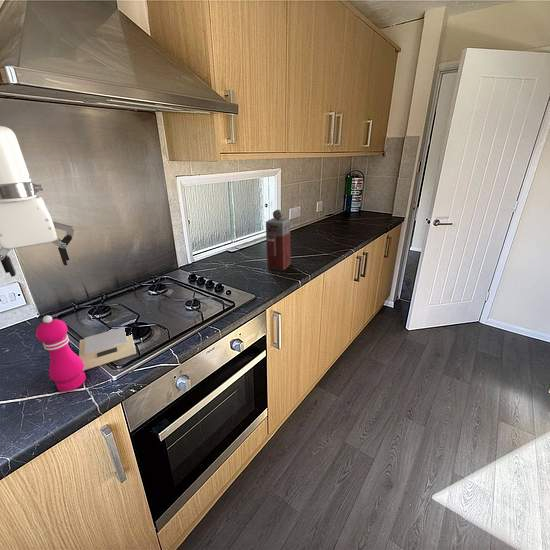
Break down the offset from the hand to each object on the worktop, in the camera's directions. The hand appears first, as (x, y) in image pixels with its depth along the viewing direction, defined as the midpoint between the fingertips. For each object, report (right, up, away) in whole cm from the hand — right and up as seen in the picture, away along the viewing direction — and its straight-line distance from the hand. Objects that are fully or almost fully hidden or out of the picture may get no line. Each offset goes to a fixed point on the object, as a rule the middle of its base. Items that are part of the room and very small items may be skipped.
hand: (40, 269), depth 67 cm
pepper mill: (+2, -29, +8) cm, 31 cm away
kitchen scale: (+4, -24, +21) cm, 32 cm away
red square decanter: (+56, +3, +79) cm, 97 cm away
